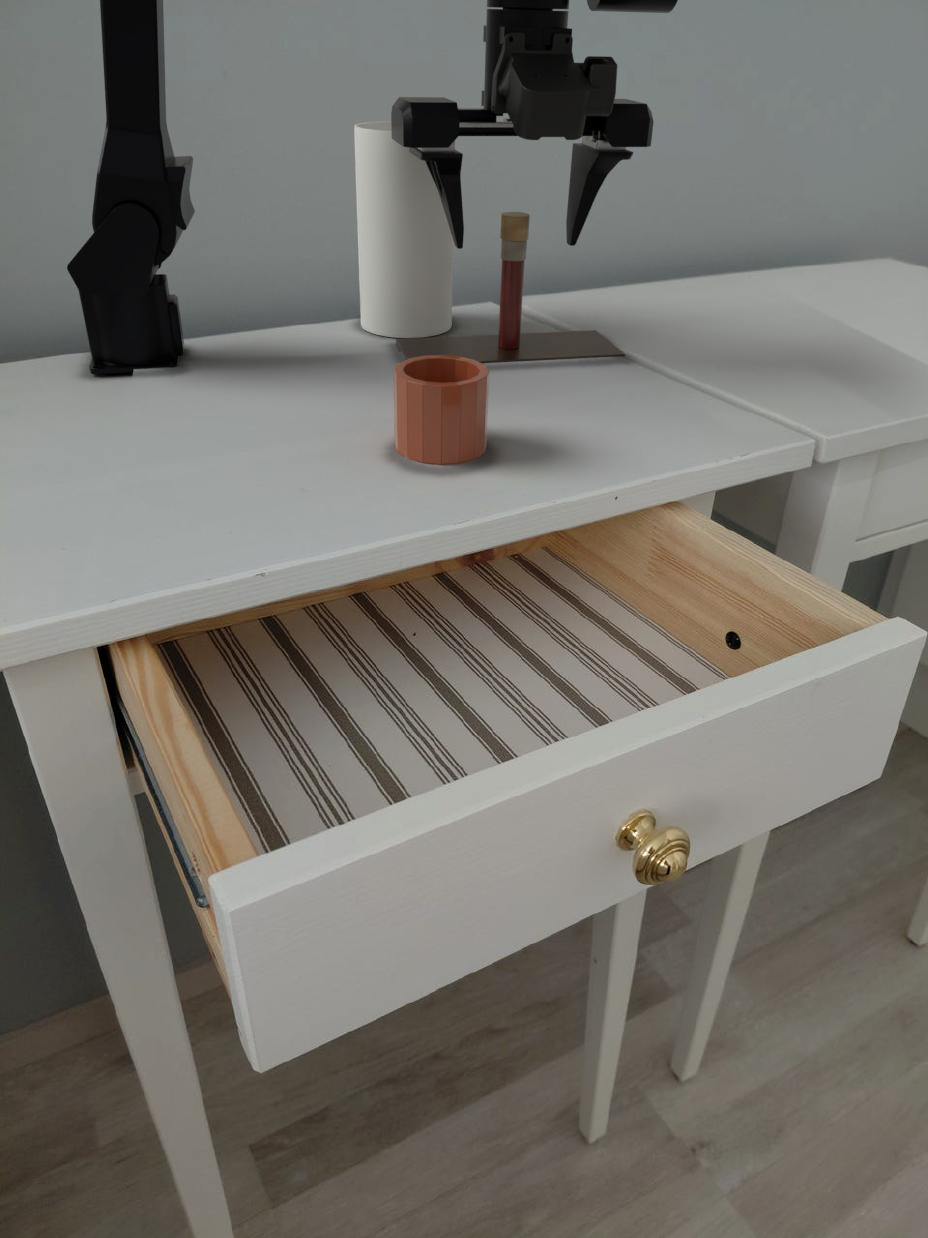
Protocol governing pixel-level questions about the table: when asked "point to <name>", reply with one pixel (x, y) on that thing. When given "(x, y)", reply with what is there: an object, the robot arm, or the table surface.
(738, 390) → the table surface
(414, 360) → the pot
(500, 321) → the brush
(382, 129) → the cup
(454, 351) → the mat
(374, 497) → the table surface
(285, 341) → the table surface
